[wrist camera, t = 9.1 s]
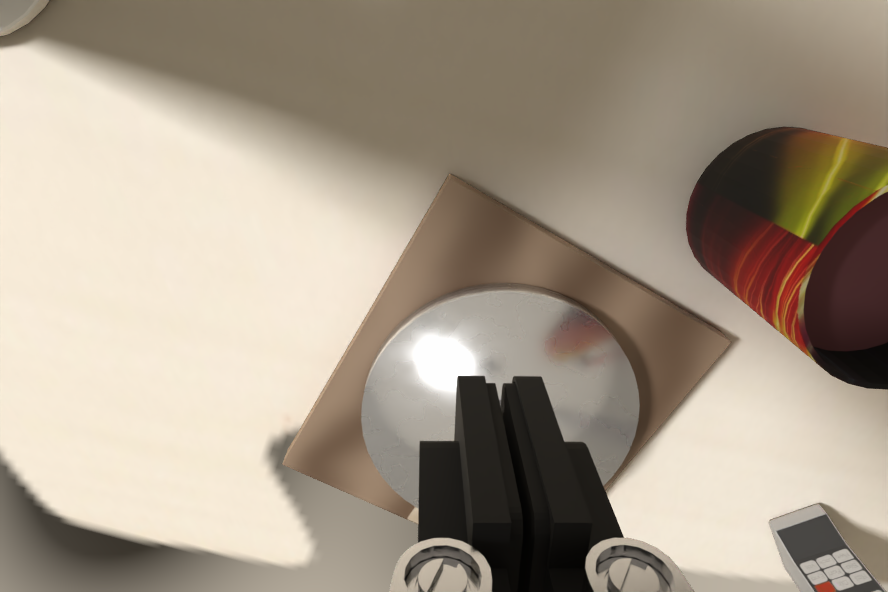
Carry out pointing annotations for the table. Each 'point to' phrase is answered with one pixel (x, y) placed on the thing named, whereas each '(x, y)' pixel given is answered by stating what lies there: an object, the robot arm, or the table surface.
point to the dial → (496, 375)
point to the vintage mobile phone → (819, 554)
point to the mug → (803, 242)
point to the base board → (486, 262)
